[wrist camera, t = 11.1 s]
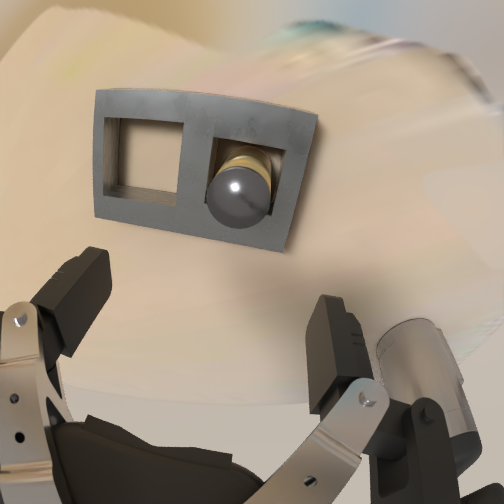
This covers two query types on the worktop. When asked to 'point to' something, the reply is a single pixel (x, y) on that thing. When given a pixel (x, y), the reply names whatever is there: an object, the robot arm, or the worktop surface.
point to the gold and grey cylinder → (241, 188)
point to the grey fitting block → (199, 161)
